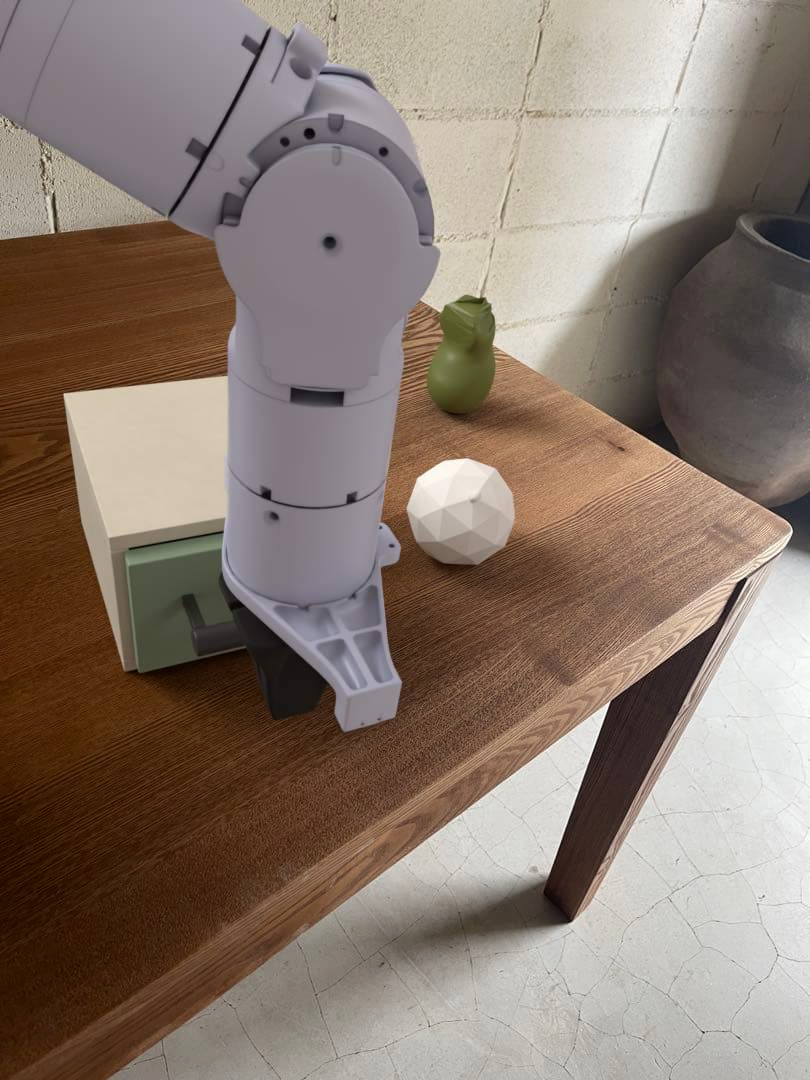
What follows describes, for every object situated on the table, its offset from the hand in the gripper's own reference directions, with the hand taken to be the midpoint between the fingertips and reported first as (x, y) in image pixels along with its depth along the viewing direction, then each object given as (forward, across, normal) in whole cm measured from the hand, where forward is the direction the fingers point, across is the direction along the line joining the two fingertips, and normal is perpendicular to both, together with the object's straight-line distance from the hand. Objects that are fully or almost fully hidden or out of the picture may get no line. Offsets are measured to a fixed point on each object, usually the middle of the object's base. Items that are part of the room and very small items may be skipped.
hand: (290, 704), depth 39 cm
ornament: (+7, +14, -17) cm, 23 cm away
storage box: (+7, +17, 0) cm, 18 cm away
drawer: (+6, +13, 0) cm, 14 cm away
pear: (+7, +31, -26) cm, 41 cm away
